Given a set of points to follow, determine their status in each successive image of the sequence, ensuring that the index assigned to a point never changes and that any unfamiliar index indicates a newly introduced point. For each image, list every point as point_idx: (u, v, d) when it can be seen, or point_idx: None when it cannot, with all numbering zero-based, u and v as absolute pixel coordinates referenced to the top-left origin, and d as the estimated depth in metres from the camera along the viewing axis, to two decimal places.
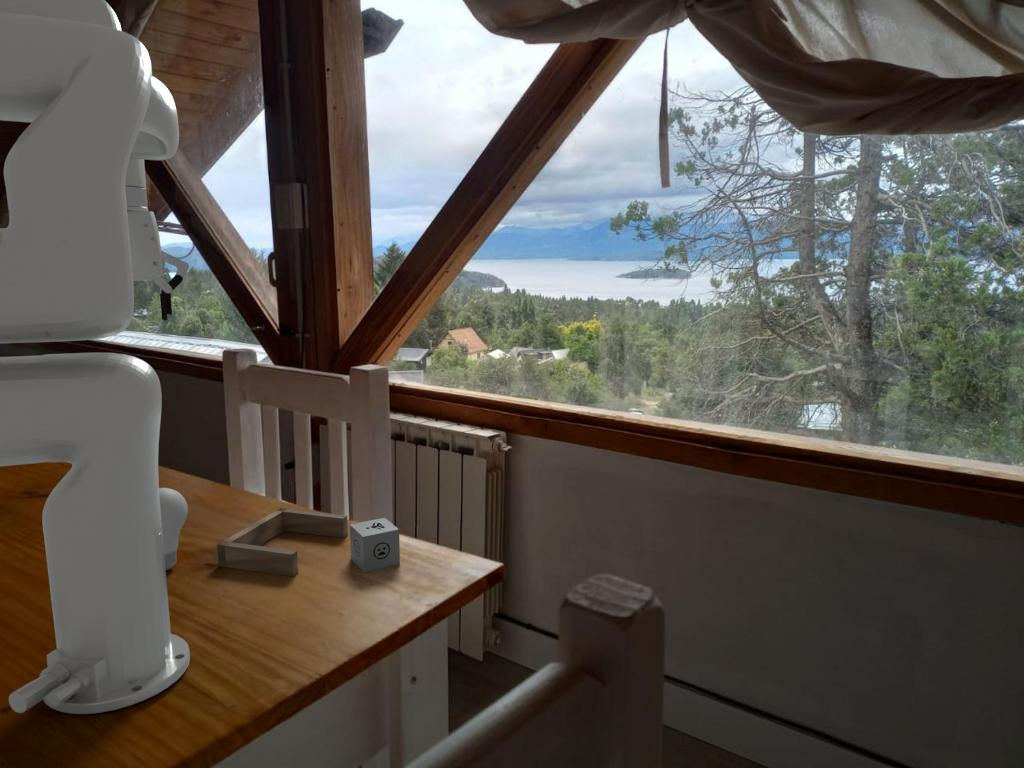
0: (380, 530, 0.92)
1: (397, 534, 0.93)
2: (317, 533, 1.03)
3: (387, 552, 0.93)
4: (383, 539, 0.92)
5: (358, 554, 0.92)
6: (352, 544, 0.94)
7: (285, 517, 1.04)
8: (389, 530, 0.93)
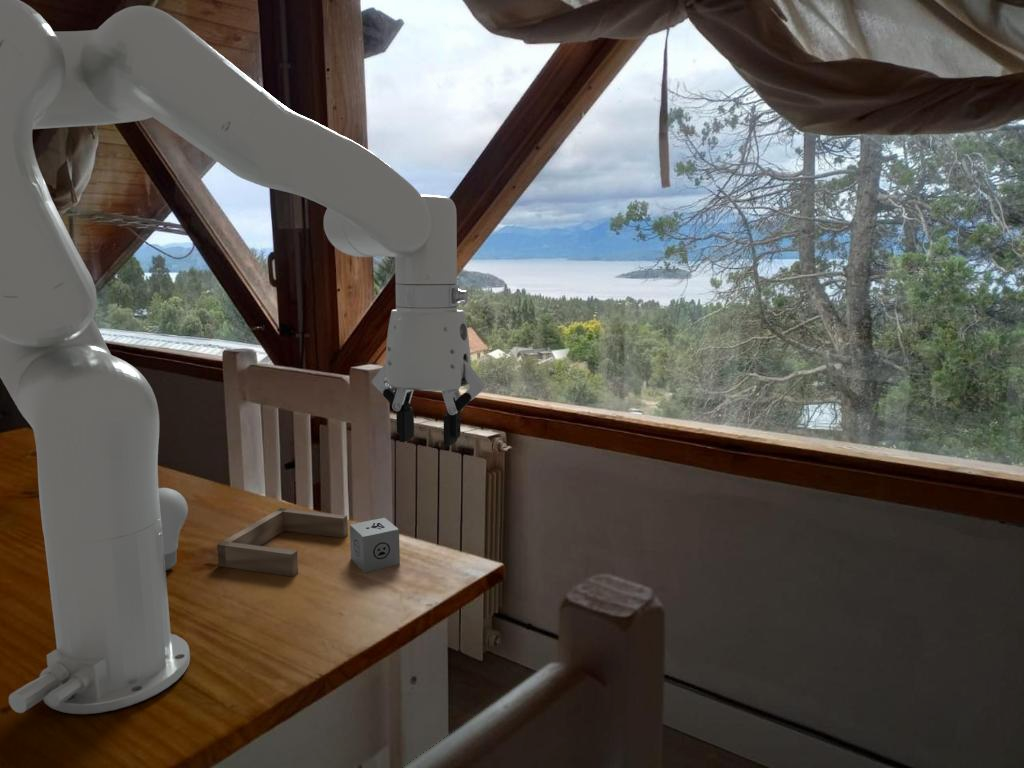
0: (380, 530, 0.92)
1: (397, 534, 0.93)
2: (317, 533, 1.03)
3: (387, 552, 0.93)
4: (383, 539, 0.92)
5: (358, 554, 0.92)
6: (352, 544, 0.94)
7: (285, 517, 1.04)
8: (389, 530, 0.93)
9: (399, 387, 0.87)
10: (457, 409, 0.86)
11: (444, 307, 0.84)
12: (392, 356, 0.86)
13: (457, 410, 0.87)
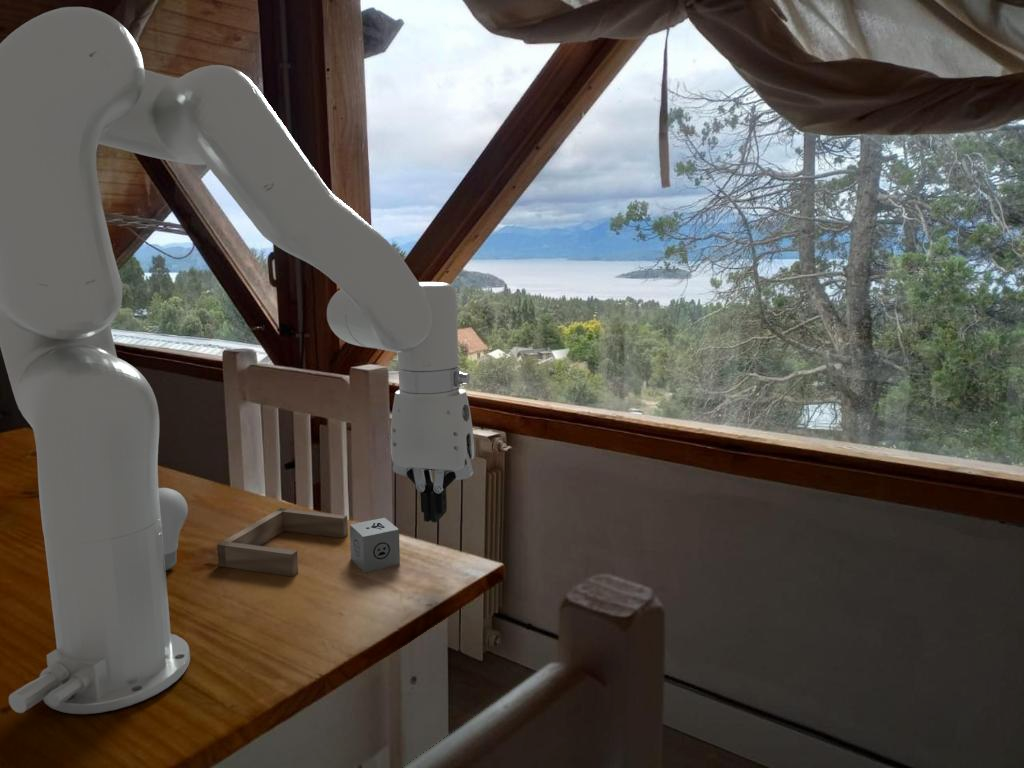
0: (380, 530, 0.92)
1: (397, 534, 0.93)
2: (317, 533, 1.03)
3: (387, 552, 0.93)
4: (383, 539, 0.92)
5: (358, 554, 0.92)
6: (352, 544, 0.94)
7: (285, 517, 1.04)
8: (389, 530, 0.93)
9: (404, 466, 0.89)
10: (442, 489, 0.89)
11: (446, 391, 0.86)
12: (397, 437, 0.88)
13: (442, 488, 0.89)
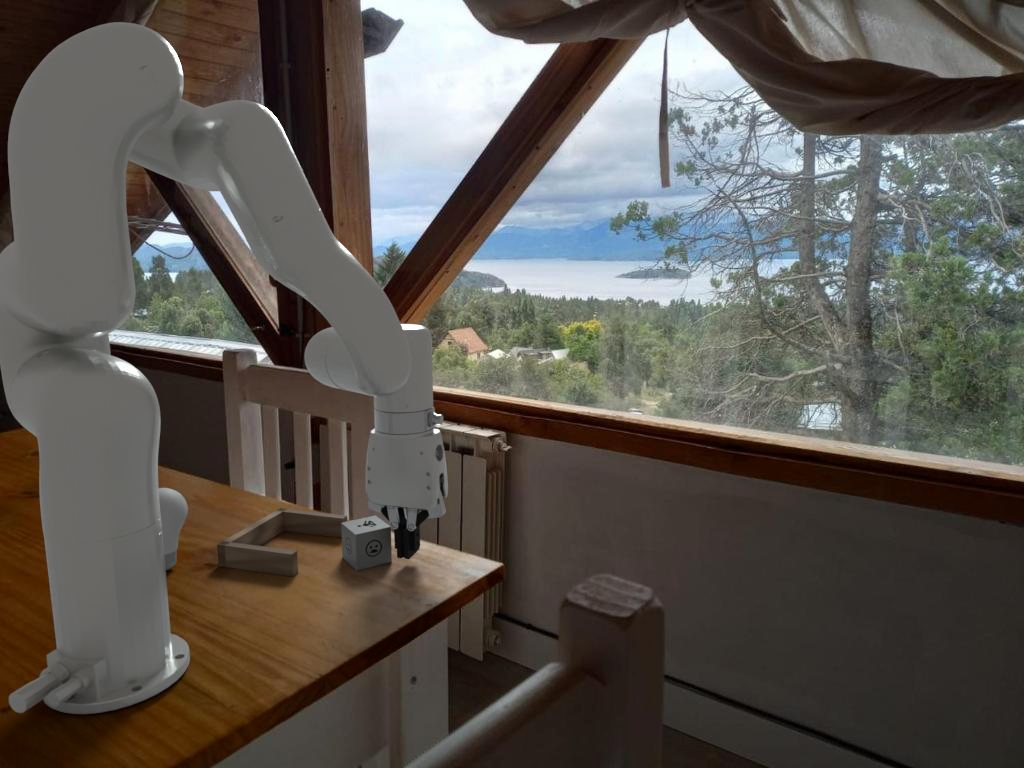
0: (372, 528, 0.93)
1: (389, 531, 0.93)
2: (317, 533, 1.03)
3: (379, 550, 0.93)
4: (375, 536, 0.92)
5: (350, 552, 0.93)
6: (344, 542, 0.94)
7: (285, 517, 1.04)
8: (381, 527, 0.93)
9: (378, 504, 0.91)
10: (415, 527, 0.91)
11: (420, 432, 0.87)
12: (371, 476, 0.90)
13: (415, 526, 0.91)
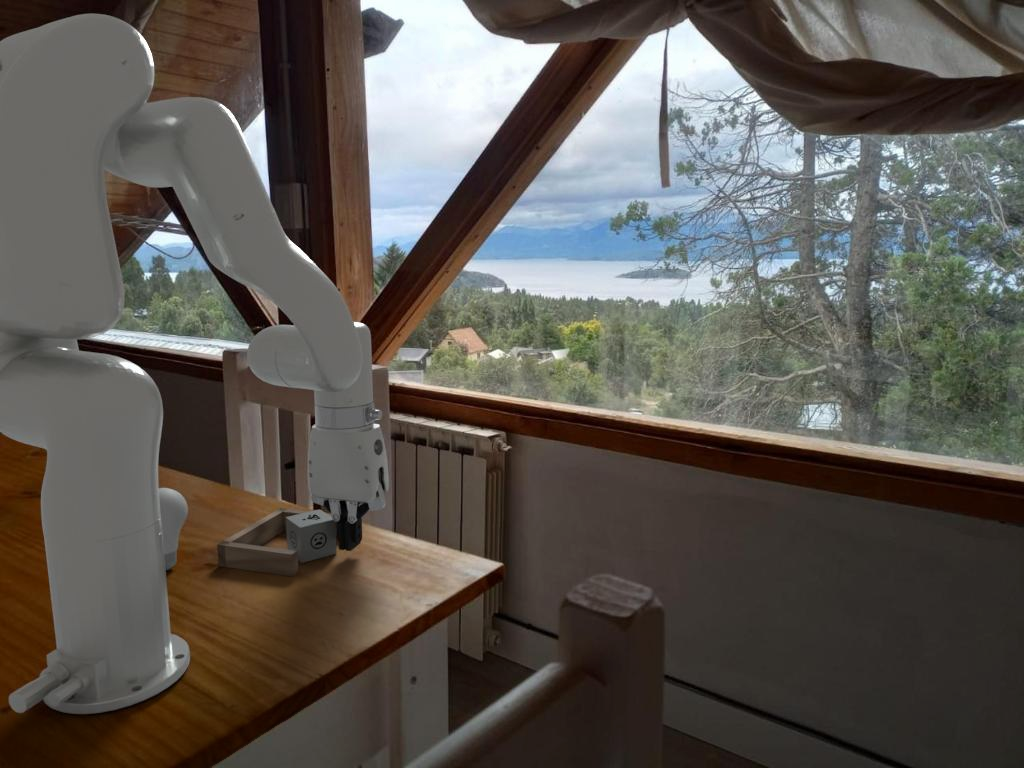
0: (316, 521, 0.95)
1: (333, 524, 0.96)
2: None
3: (324, 542, 0.95)
4: (319, 529, 0.95)
5: (295, 545, 0.95)
6: (289, 536, 0.96)
7: (285, 517, 1.04)
8: (326, 520, 0.95)
9: (320, 497, 0.93)
10: (356, 520, 0.93)
11: (358, 427, 0.90)
12: (313, 469, 0.92)
13: (356, 519, 0.93)
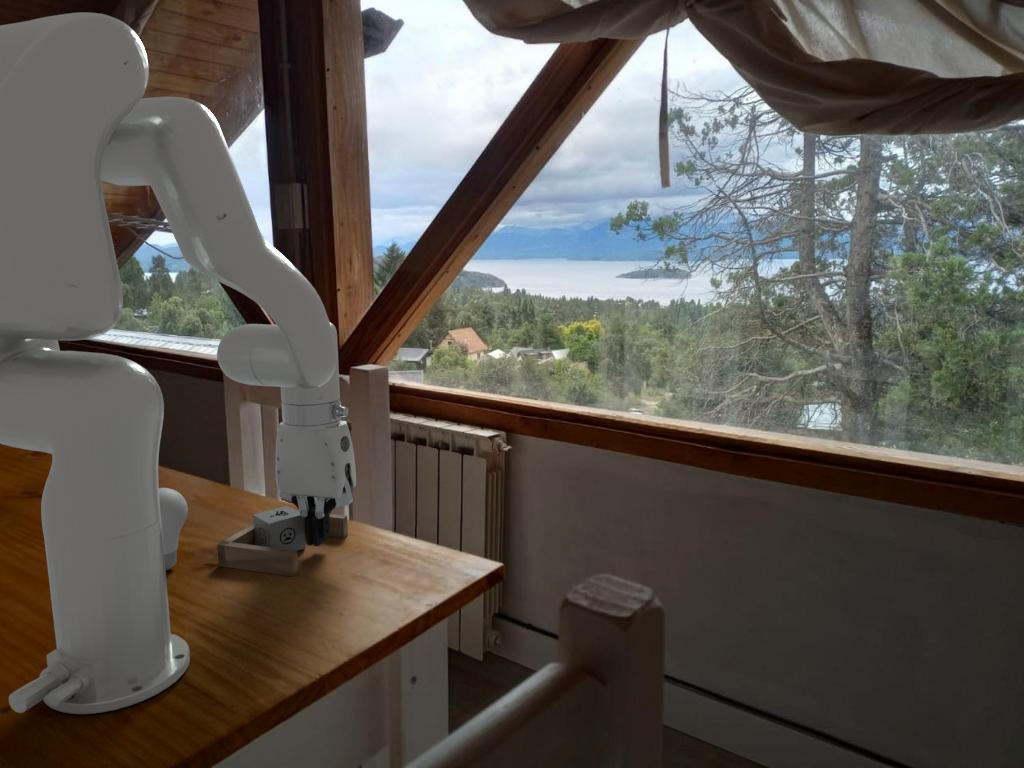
0: (285, 516, 0.96)
1: (302, 519, 0.97)
2: None
3: (293, 537, 0.97)
4: (288, 524, 0.96)
5: (264, 541, 0.96)
6: (257, 533, 0.97)
7: None
8: (294, 515, 0.97)
9: (288, 493, 0.95)
10: (324, 515, 0.95)
11: (324, 424, 0.91)
12: (280, 466, 0.94)
13: (324, 514, 0.95)
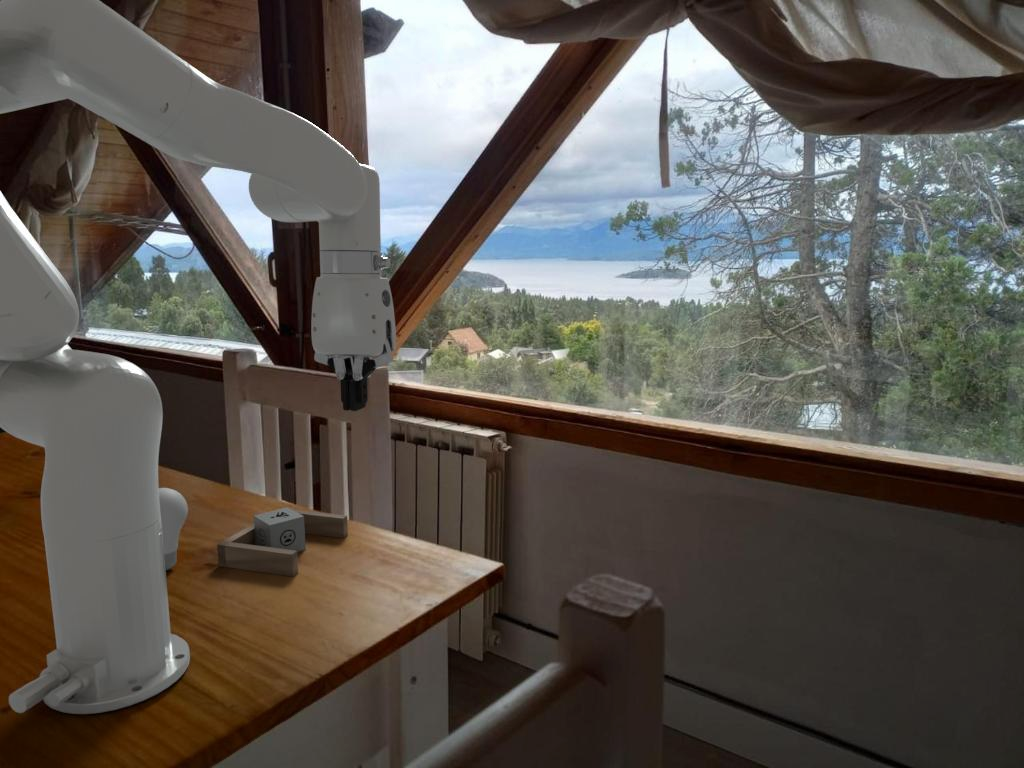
0: (285, 518, 0.96)
1: (302, 521, 0.97)
2: (317, 533, 1.03)
3: (293, 539, 0.97)
4: (289, 526, 0.96)
5: (264, 542, 0.96)
6: (257, 534, 0.97)
7: None
8: (294, 517, 0.97)
9: (324, 353, 0.89)
10: (362, 377, 0.89)
11: (365, 273, 0.86)
12: (317, 322, 0.88)
13: (362, 376, 0.89)
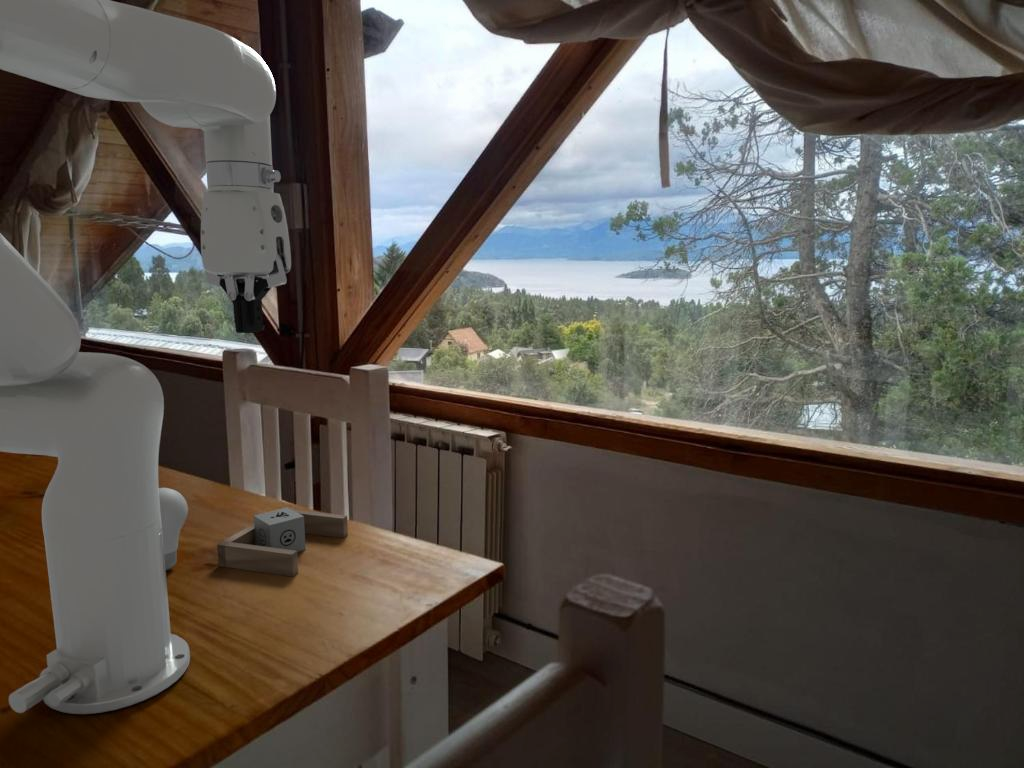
0: (285, 518, 0.96)
1: (302, 521, 0.97)
2: (317, 533, 1.03)
3: (293, 539, 0.97)
4: (289, 526, 0.96)
5: (264, 542, 0.96)
6: (257, 534, 0.97)
7: None
8: (294, 517, 0.97)
9: (214, 272, 0.86)
10: (254, 297, 0.86)
11: (252, 186, 0.82)
12: (206, 240, 0.85)
13: (254, 296, 0.86)
